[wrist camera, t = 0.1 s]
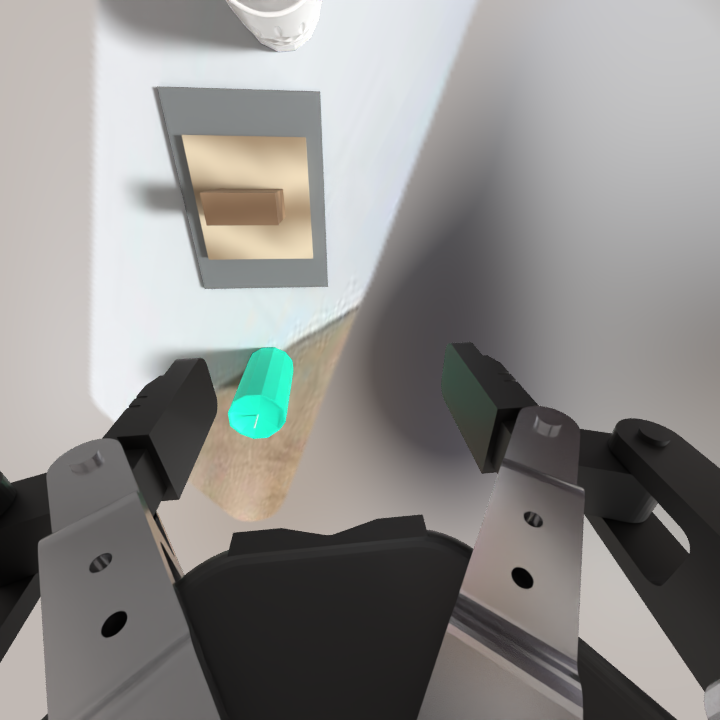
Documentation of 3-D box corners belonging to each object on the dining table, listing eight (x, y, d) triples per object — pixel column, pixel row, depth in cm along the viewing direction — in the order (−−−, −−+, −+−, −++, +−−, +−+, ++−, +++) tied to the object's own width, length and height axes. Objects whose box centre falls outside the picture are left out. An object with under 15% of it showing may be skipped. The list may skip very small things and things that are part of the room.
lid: (185, 135, 30) (151, 128, 24) (305, 138, 31) (301, 131, 25) (211, 257, 36) (188, 275, 30) (313, 256, 37) (310, 273, 31)
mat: (159, 87, 29) (157, 86, 28) (320, 92, 30) (320, 91, 30) (205, 287, 38) (204, 288, 38) (327, 285, 39) (327, 286, 39)
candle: (258, 389, 46) (239, 454, 35) (240, 353, 43) (213, 413, 32) (300, 378, 45) (292, 440, 35) (284, 341, 42) (271, 397, 32)
